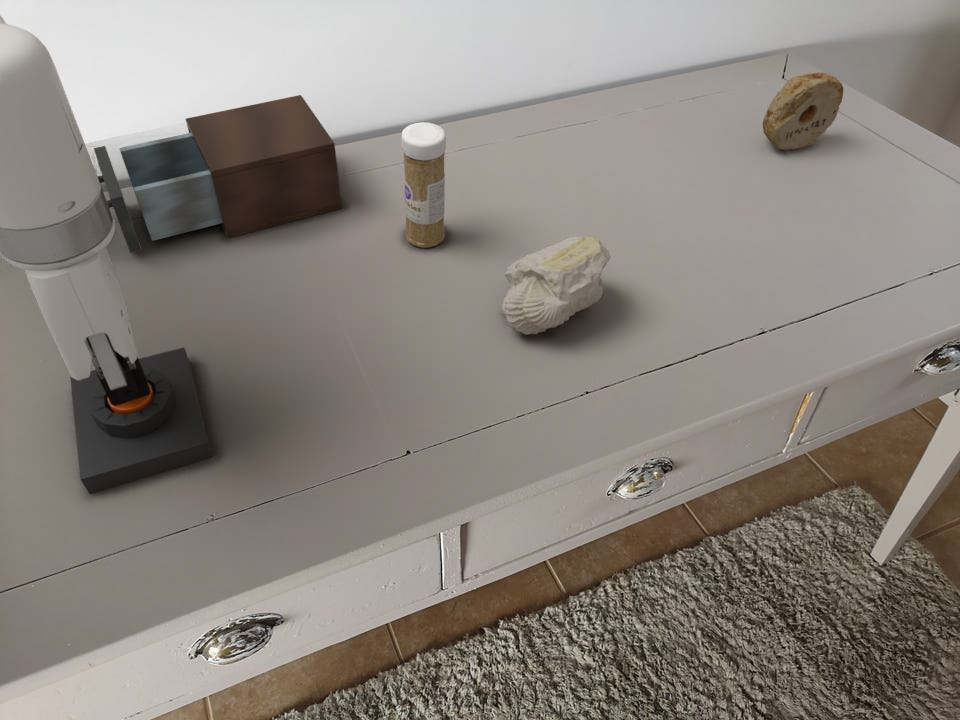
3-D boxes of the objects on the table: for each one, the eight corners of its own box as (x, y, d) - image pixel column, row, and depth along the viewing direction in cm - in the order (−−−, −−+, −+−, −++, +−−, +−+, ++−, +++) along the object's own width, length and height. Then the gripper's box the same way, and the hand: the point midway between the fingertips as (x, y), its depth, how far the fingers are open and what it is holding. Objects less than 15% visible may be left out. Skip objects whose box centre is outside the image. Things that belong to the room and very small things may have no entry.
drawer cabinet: (227, 238, 88) (210, 171, 81) (202, 184, 94) (185, 118, 88) (342, 208, 92) (334, 142, 86) (310, 158, 99) (300, 94, 93)
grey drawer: (73, 267, 82) (48, 213, 77) (59, 213, 88) (36, 160, 83) (244, 223, 88) (232, 170, 83) (221, 175, 94) (208, 123, 89)
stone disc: (811, 131, 108) (838, 62, 101) (829, 144, 106) (857, 75, 98) (749, 143, 105) (772, 73, 98) (765, 158, 103) (790, 87, 96)
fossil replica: (480, 332, 79) (572, 368, 77) (487, 276, 72) (588, 314, 71) (523, 256, 86) (608, 288, 84) (534, 199, 79) (626, 232, 78)
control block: (78, 391, 72) (62, 362, 69) (189, 363, 75) (179, 333, 72) (89, 494, 64) (72, 466, 61) (212, 458, 67) (202, 429, 64)
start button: (111, 397, 68) (105, 384, 67) (154, 386, 69) (148, 372, 68) (115, 427, 66) (109, 414, 65) (159, 415, 67) (154, 402, 66)
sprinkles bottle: (397, 235, 89) (391, 130, 79) (427, 219, 91) (425, 115, 81) (423, 255, 87) (420, 149, 77) (453, 238, 89) (455, 133, 79)
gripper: (-19, 175, 56) (71, 350, 69) (0, 302, 47) (98, 475, 61) (91, 151, 59) (157, 325, 72) (128, 268, 50) (196, 442, 63)
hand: (130, 393), depth 66 cm, fingers closed
